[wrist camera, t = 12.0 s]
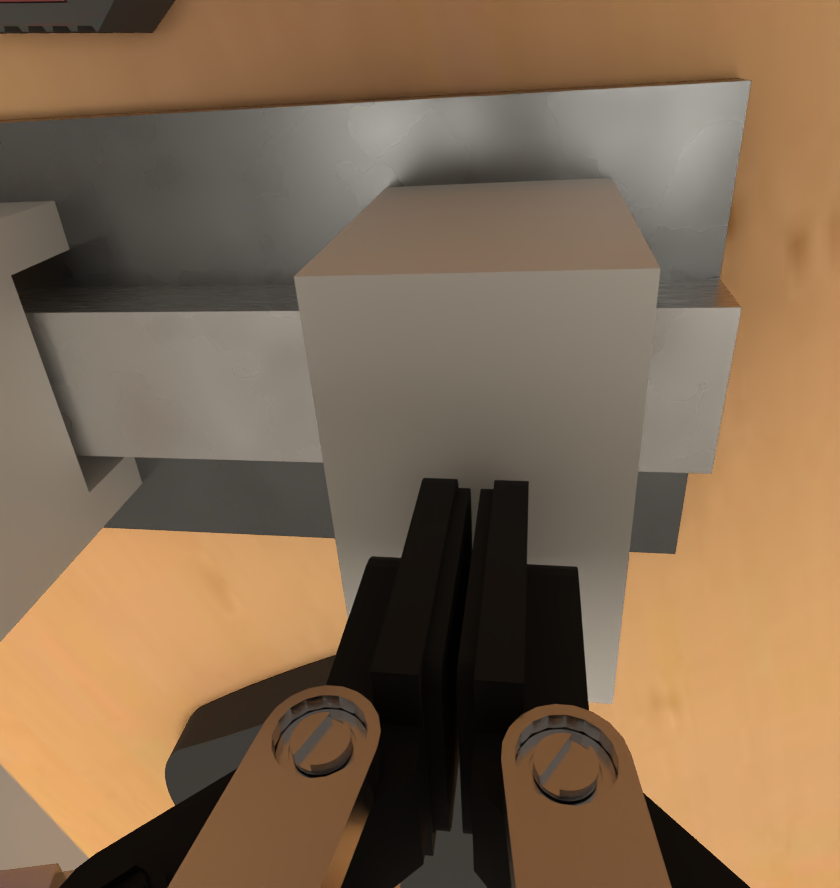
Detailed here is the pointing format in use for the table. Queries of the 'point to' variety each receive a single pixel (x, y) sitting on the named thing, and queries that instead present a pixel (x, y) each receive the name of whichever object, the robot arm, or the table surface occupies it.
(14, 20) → the walkie-talkie
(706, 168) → the rail plate
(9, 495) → the mounted module
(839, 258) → the table surface
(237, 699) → the media streaming box
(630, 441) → the block
